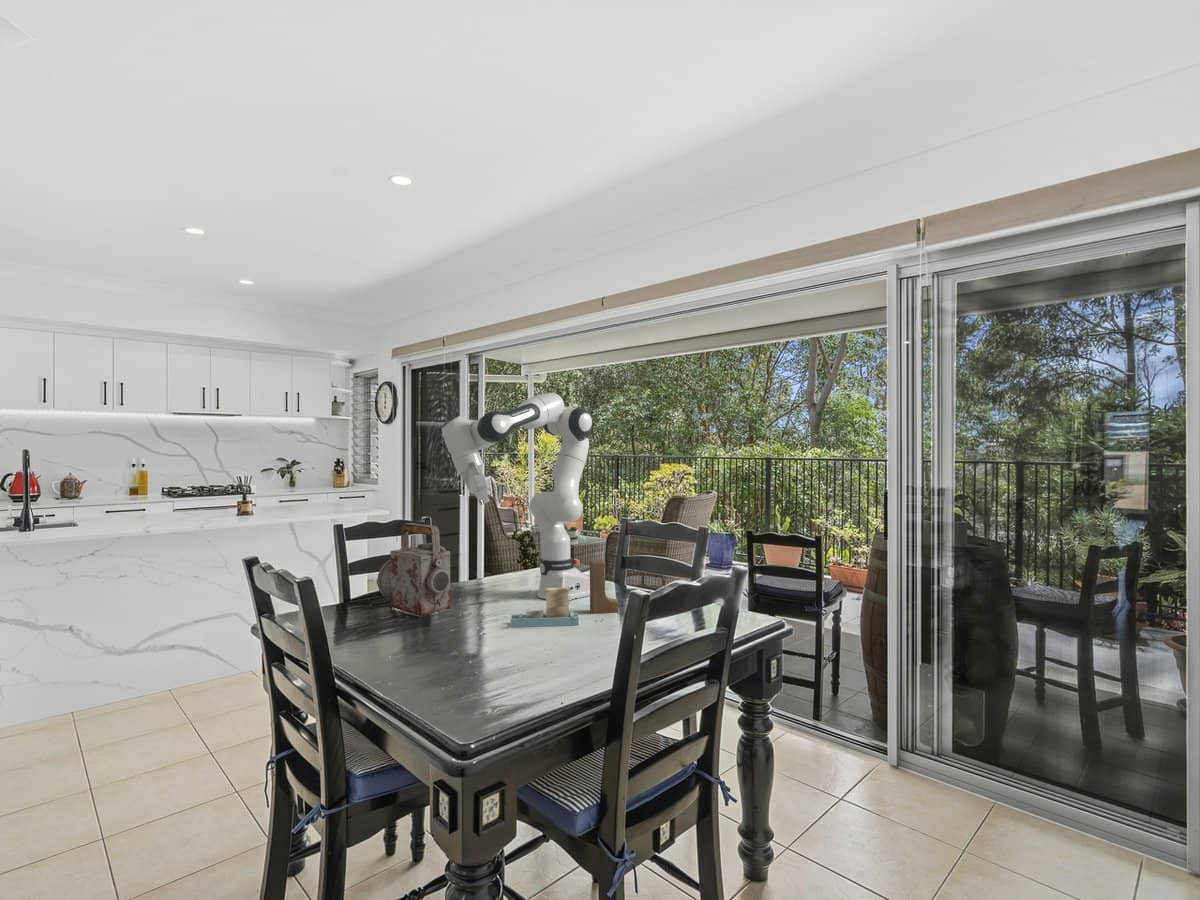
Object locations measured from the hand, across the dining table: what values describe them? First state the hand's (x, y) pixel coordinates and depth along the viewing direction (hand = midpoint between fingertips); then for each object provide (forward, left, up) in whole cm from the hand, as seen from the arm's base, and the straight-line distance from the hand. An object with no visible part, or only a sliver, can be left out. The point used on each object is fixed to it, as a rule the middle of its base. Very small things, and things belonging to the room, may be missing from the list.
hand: (485, 503), depth 209 cm
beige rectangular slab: (-16, +20, -37) cm, 45 cm away
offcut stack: (-9, +17, -37) cm, 42 cm away
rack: (-12, +19, -38) cm, 44 cm away
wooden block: (-36, +16, -38) cm, 55 cm away
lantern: (+15, -26, -38) cm, 49 cm away
